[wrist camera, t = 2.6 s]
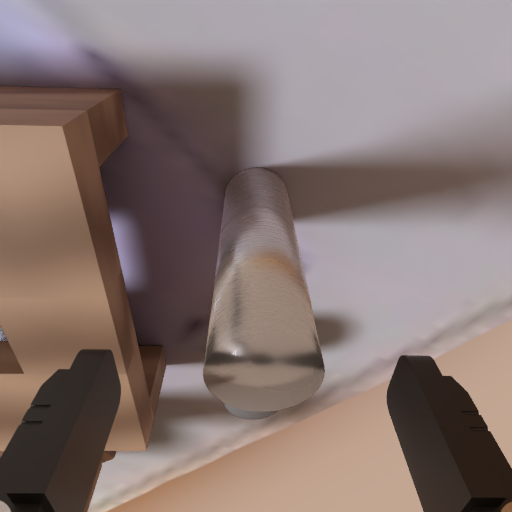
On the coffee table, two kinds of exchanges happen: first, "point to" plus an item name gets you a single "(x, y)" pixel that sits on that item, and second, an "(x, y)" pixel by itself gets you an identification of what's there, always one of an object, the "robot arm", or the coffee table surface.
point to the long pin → (260, 303)
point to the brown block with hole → (65, 256)
